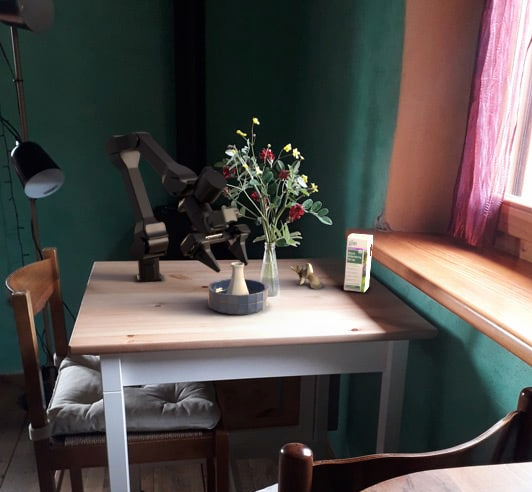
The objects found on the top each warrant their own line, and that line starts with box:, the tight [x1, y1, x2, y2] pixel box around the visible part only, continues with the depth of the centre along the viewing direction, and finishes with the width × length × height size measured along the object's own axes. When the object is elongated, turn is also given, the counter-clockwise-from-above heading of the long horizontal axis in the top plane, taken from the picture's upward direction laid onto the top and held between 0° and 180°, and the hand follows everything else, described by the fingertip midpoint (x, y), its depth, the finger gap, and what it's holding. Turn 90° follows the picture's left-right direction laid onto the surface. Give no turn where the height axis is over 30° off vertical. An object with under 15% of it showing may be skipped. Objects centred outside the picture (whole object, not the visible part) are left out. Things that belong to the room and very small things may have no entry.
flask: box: [226, 261, 249, 295], centre depth 148 cm, size 7×7×10 cm
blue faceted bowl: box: [207, 278, 269, 316], centre depth 149 cm, size 14×14×5 cm
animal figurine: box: [289, 262, 323, 290], centre depth 168 cm, size 8×7×9 cm
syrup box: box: [343, 233, 374, 293], centre depth 163 cm, size 6×6×14 cm
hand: (233, 268), depth 147 cm, fingers open, 9 cm apart
